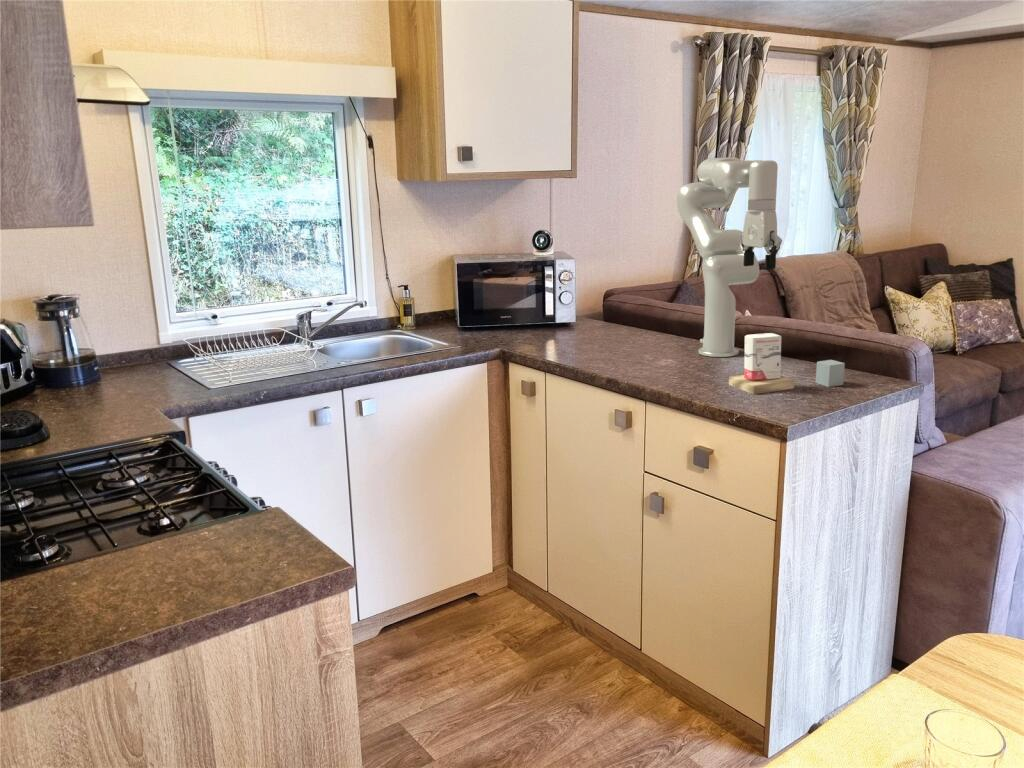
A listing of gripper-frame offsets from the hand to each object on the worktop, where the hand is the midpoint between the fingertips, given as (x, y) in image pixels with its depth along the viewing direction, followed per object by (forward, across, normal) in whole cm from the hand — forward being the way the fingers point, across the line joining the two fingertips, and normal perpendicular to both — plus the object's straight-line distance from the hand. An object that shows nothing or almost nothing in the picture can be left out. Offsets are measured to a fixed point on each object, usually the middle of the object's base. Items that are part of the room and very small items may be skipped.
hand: (759, 267), depth 228 cm
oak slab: (+31, +16, -10) cm, 36 cm away
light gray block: (+30, +22, +8) cm, 38 cm away
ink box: (+28, +16, -10) cm, 34 cm away
